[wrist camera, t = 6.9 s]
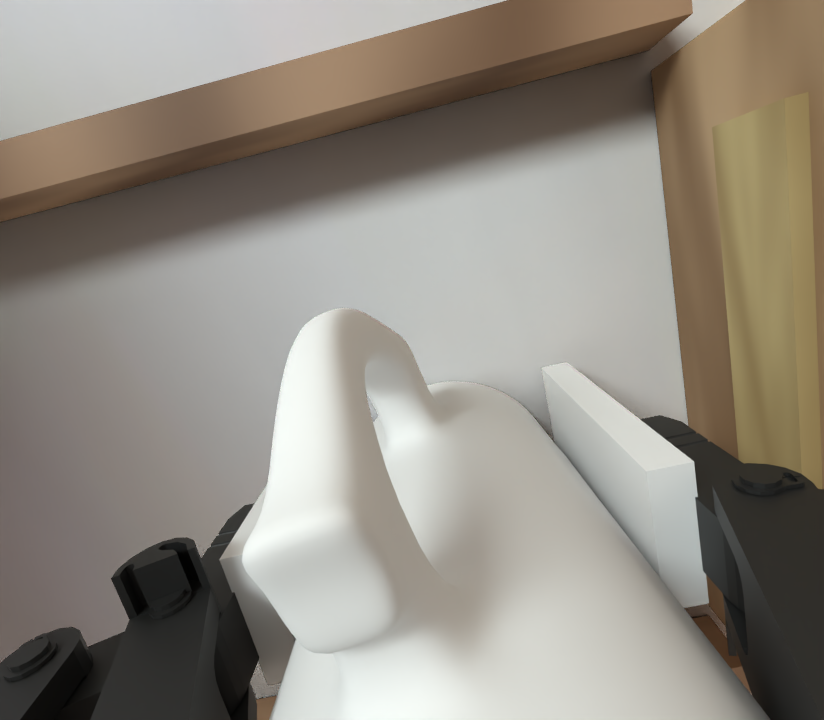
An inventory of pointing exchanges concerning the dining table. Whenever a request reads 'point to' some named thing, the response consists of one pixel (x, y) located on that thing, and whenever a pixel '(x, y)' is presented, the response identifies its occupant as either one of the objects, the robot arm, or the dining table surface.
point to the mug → (455, 558)
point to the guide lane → (331, 109)
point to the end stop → (749, 231)
